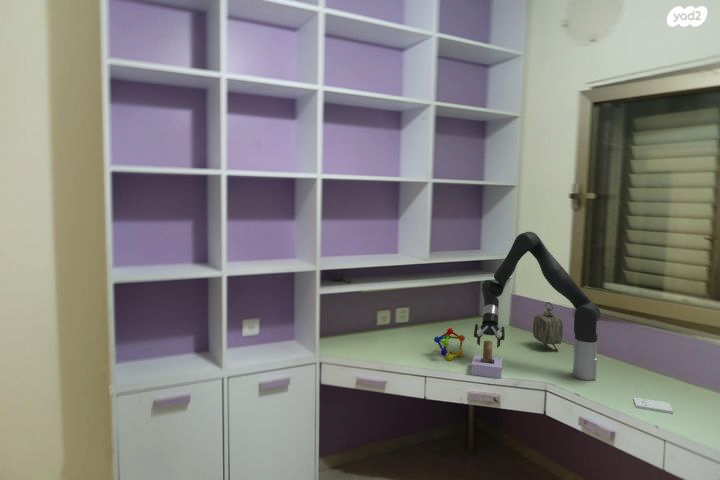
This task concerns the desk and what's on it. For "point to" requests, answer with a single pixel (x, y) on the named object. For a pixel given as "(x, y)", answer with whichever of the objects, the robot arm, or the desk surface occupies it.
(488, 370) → the socket
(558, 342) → the tabletop clock
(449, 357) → the educational toy
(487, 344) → the dowel
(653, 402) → the external hard drive
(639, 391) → the desk surface
